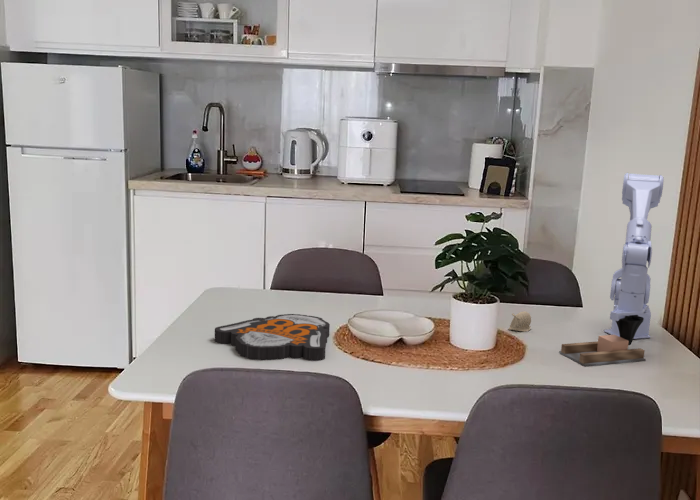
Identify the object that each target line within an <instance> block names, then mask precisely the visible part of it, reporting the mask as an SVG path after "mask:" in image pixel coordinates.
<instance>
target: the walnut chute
mask: <svg viewBox="0 0 700 500" xmlns="http://www.w3.org/2000/svg"><path fill="white" fill-rule="evenodd" d="M597 345H598V340H596V341H586V342H585V341H584V342H574V343H573V342H572V343H562V344H561V349H560V350H558V353H559V354H560V355H562V356H564V357H566V358H567V359H570V360H572V361H573V362H575V363H578V365H579V364H580V365H581V366H583V367H584V368H585V367H593V366H594V367H596V366H605V365H614V364H615V365H618V364H627V363H637V362H638V363H639V362H646V360H647V359H646V358H645V351H646V350H645V349H643V348H639V347H638V348H631V349H630V348H629V349H627V350H615V351H603V352H597Z"/></svg>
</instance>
